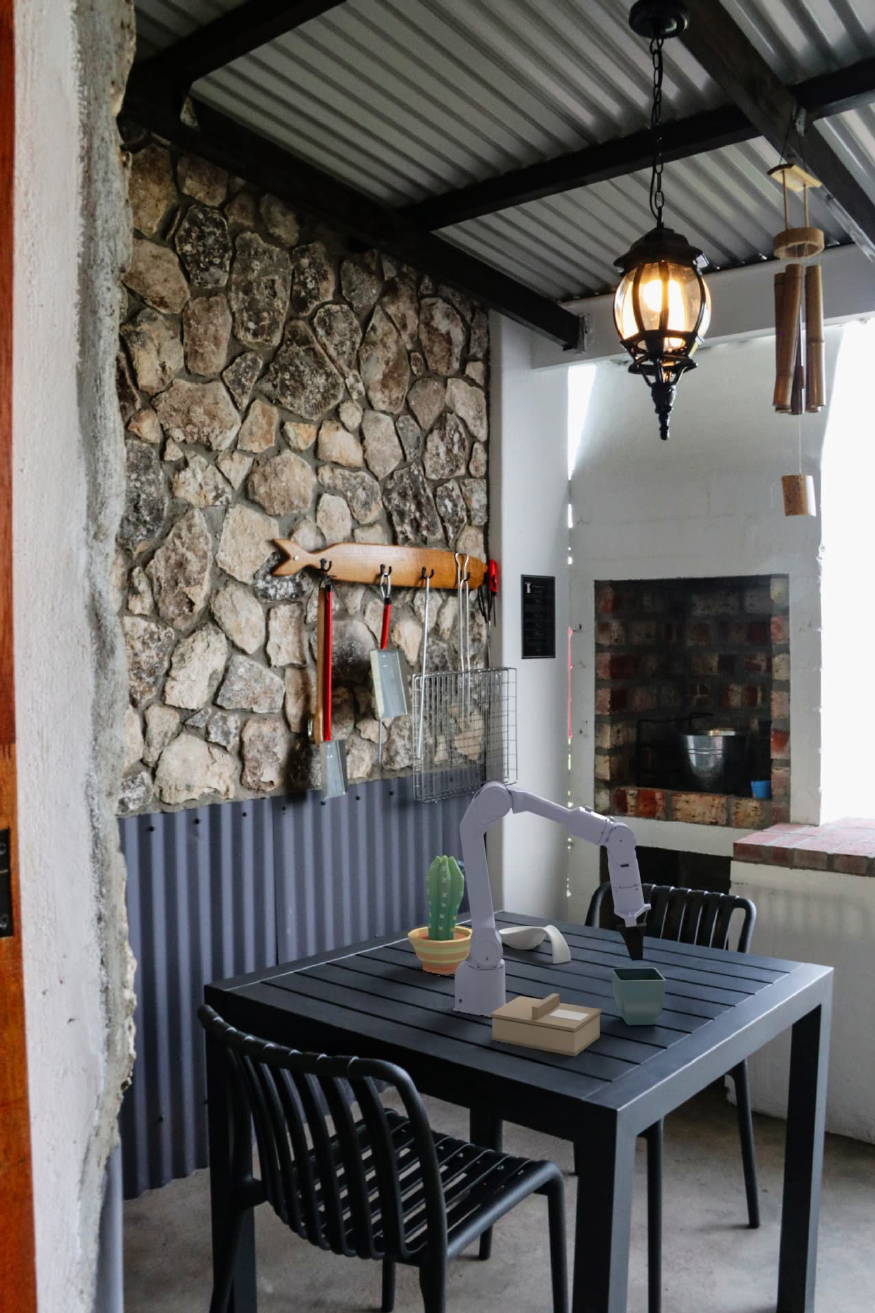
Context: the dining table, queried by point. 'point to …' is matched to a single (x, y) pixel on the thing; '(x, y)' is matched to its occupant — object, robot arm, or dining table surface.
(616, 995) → the flower pot
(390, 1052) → the dining table surface
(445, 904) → the potted cactus
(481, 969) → the robot arm
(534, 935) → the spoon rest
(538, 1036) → the box
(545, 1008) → the mailer lid
